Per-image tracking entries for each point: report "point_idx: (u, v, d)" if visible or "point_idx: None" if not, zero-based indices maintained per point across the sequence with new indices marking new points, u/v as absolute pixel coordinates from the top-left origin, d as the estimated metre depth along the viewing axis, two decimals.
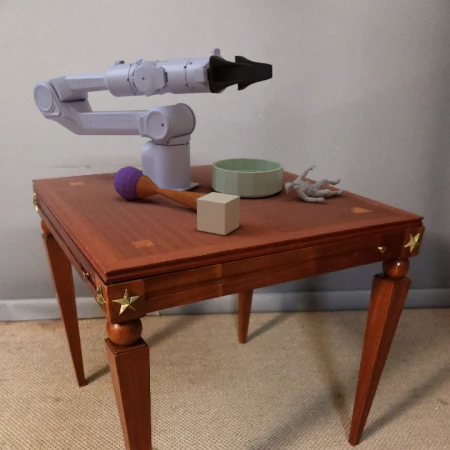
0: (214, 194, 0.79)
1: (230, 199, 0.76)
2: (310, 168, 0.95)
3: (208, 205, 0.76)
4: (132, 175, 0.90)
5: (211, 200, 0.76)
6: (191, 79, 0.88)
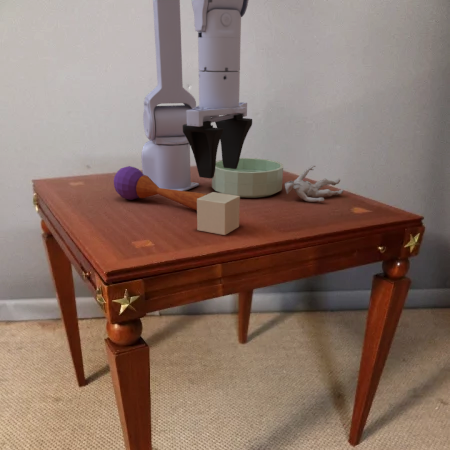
0: (214, 194, 0.79)
1: (230, 199, 0.76)
2: (310, 168, 0.95)
3: (208, 205, 0.76)
4: (132, 175, 0.90)
5: (211, 200, 0.76)
6: (206, 80, 0.67)
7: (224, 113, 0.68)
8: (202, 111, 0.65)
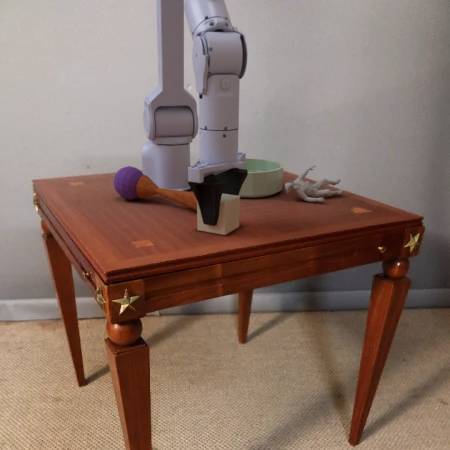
0: None
1: (230, 199, 0.76)
2: (310, 168, 0.95)
3: None
4: (132, 175, 0.90)
5: None
6: (206, 137, 0.71)
7: (223, 168, 0.72)
8: (203, 168, 0.69)
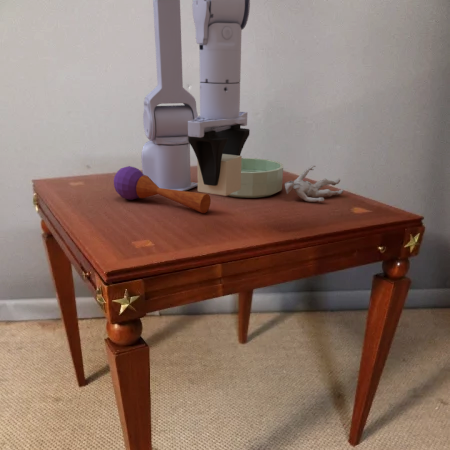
0: None
1: (231, 158, 0.74)
2: (310, 168, 0.95)
3: None
4: (132, 175, 0.90)
5: None
6: (207, 91, 0.68)
7: (225, 124, 0.69)
8: (203, 122, 0.67)
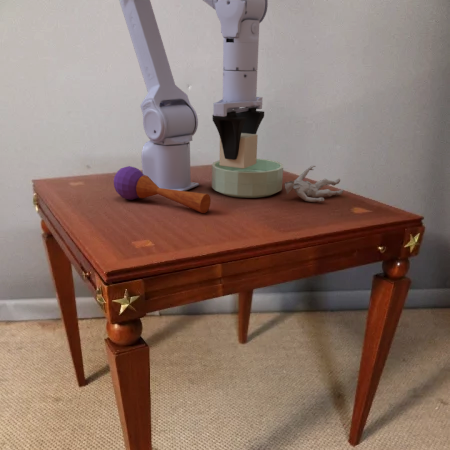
0: None
1: (249, 136, 0.86)
2: (310, 168, 0.95)
3: None
4: (132, 175, 0.90)
5: None
6: (229, 77, 0.81)
7: (244, 105, 0.82)
8: (226, 103, 0.79)
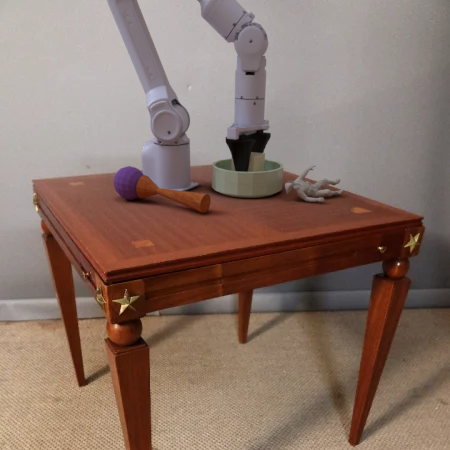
0: None
1: (258, 155, 0.97)
2: (310, 168, 0.95)
3: None
4: (132, 175, 0.90)
5: None
6: (240, 105, 0.92)
7: (253, 129, 0.93)
8: (238, 128, 0.90)
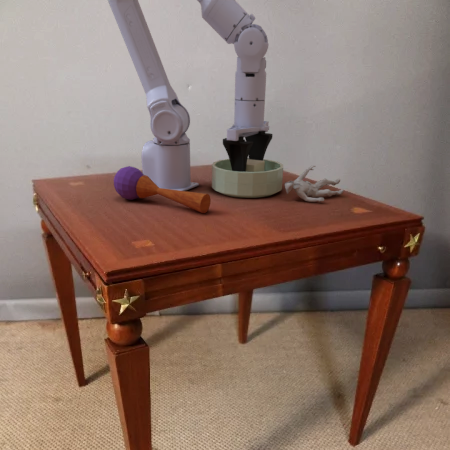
0: None
1: (257, 162, 0.98)
2: (310, 168, 0.95)
3: None
4: (132, 175, 0.90)
5: None
6: (240, 106, 0.92)
7: (253, 131, 0.93)
8: (238, 130, 0.90)
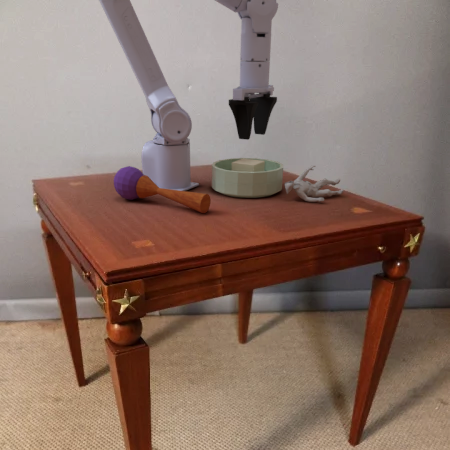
0: (244, 159, 1.00)
1: (257, 162, 0.98)
2: (310, 168, 0.95)
3: (240, 167, 0.97)
4: (132, 175, 0.90)
5: (243, 163, 0.97)
6: (246, 67, 0.94)
7: (258, 91, 0.95)
8: (244, 89, 0.92)
